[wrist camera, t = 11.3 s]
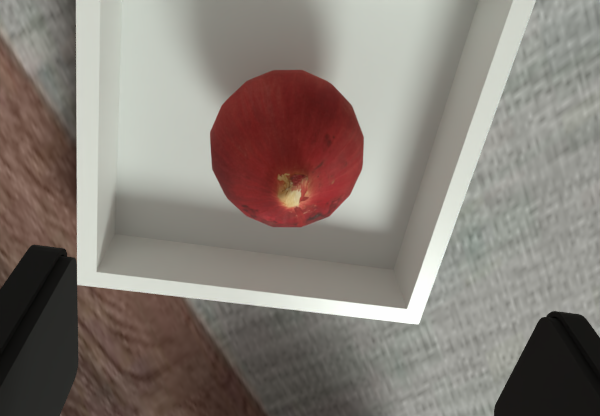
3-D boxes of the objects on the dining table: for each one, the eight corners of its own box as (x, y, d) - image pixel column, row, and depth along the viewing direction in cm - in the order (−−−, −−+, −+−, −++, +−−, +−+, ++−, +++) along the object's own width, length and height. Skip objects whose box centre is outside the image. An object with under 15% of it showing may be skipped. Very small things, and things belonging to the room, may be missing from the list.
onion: (364, 150, 25) (407, 244, 18) (248, 194, 26) (247, 301, 19) (321, 28, 23) (352, 83, 16) (193, 81, 23) (167, 157, 16)
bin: (105, -120, 20) (75, -125, 17) (507, -37, 22) (546, -28, 19) (99, 242, 27) (77, 284, 24) (402, 280, 29) (418, 324, 26)
